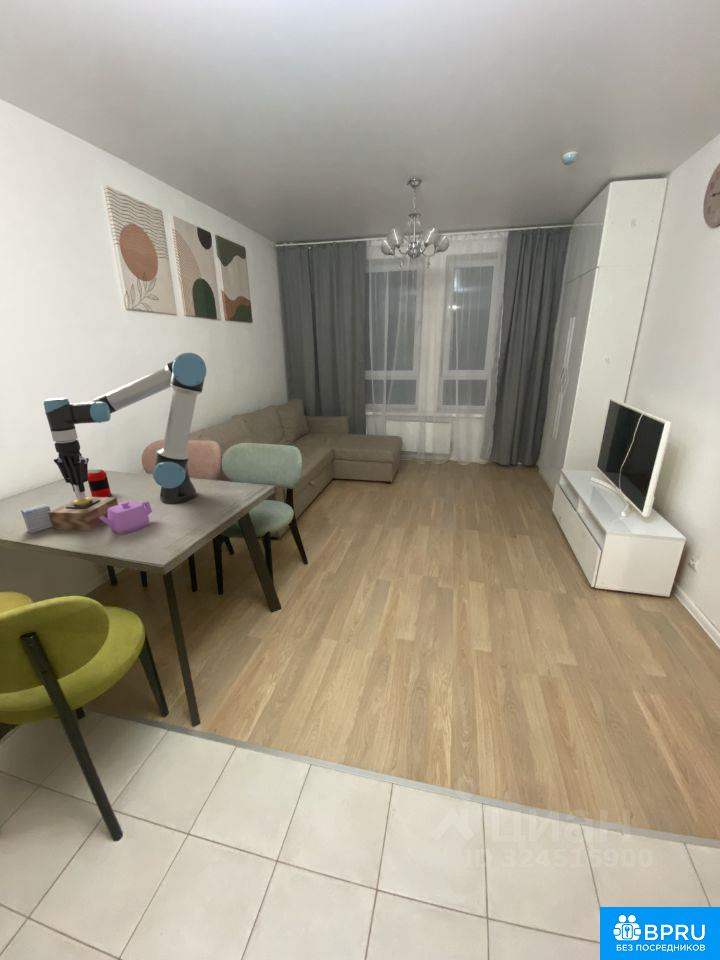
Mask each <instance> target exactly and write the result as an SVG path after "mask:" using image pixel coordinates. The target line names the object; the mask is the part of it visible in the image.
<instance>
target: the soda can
mask: <svg viewBox="0 0 720 960" xmlns="http://www.w3.org/2000/svg"><path fill="white" fill-rule="evenodd" d="M87 483H88V486H89V491H90V495H91V497H110V496H111V495H112V492H111V488H110V484H109V480H108V475H107V472H106V471H105V470H103V469H93V470H90V471H88V481H87Z"/></svg>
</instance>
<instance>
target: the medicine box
mask: <svg viewBox="0 0 720 960" xmlns="http://www.w3.org/2000/svg"><path fill="white" fill-rule="evenodd" d="M50 511H51V508H50V506H49V505H48V504H46V503H43V504H38V505H34V506H32V507H28V508H24V509H21V515H22V518H23V521H24V523H25V526H26V529H27V531H28V532H29V533H30V534H33V533H38V532H40V531H44V530H46V529H49V528H53V527H52V524H51V520H50V517H49V514H48V512H50Z"/></svg>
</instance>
